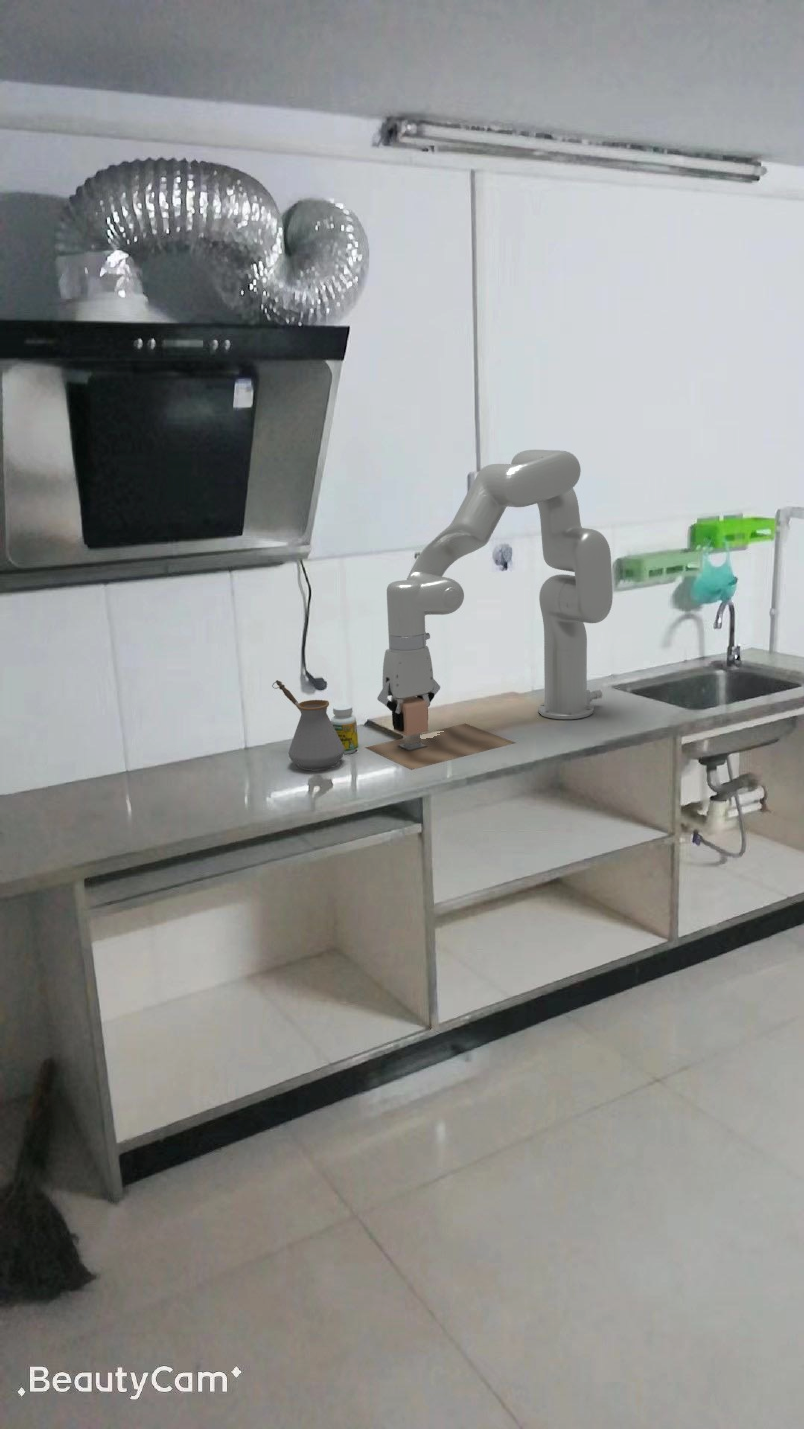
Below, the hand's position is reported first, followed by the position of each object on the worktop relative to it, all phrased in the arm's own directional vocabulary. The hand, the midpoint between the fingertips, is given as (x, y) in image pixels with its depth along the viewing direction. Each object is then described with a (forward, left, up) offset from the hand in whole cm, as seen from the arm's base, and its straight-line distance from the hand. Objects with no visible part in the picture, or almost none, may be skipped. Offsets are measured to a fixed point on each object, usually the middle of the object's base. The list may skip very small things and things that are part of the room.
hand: (410, 726), depth 219 cm
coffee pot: (+20, -10, -6) cm, 23 cm away
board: (-5, +3, -5) cm, 8 cm away
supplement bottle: (+11, -9, -5) cm, 15 cm away
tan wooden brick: (0, 0, -1) cm, 1 cm away
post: (0, 0, -5) cm, 5 cm away
